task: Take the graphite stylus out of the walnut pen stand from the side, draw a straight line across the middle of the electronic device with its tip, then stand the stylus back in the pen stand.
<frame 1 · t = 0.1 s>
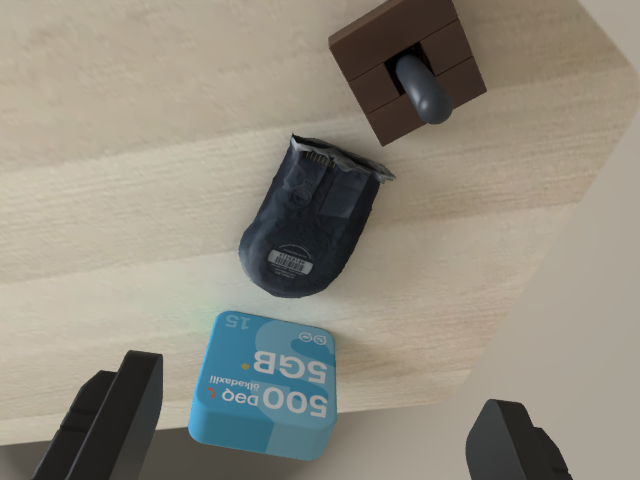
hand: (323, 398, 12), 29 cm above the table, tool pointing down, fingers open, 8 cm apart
data package: (273, 333, 49), on the table
pen stand: (402, 58, 35), on the table
stylus: (417, 80, 29), in the pen stand
electronic device: (306, 218, 42), on the table
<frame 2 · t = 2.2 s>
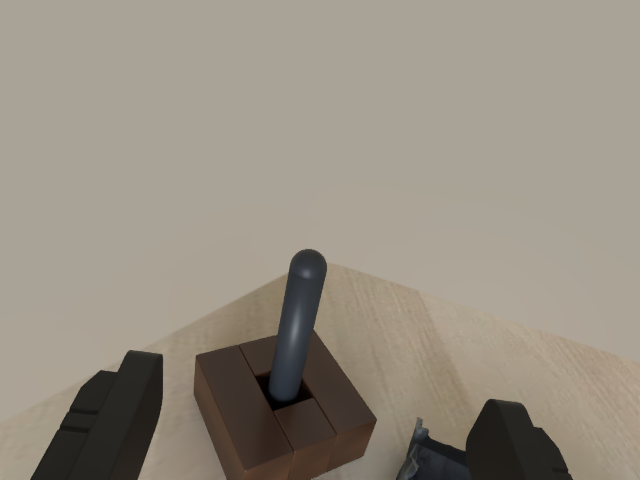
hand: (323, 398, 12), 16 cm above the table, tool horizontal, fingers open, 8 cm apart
pen stand: (276, 424, 30), on the table
stylus: (291, 349, 26), in the pen stand
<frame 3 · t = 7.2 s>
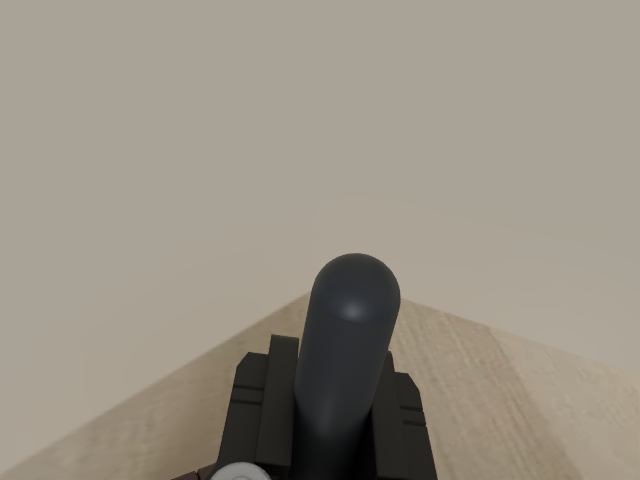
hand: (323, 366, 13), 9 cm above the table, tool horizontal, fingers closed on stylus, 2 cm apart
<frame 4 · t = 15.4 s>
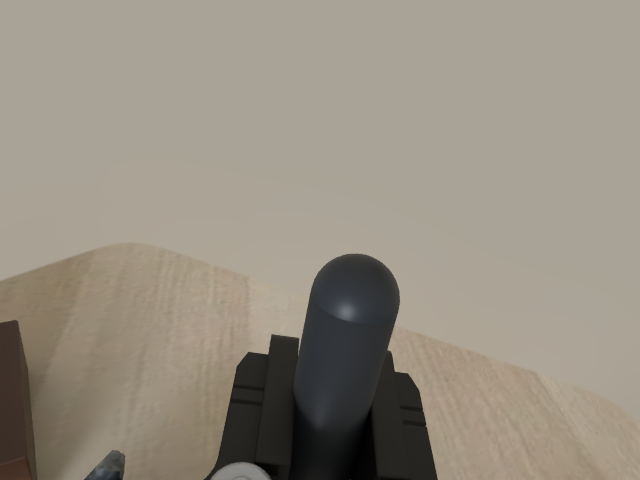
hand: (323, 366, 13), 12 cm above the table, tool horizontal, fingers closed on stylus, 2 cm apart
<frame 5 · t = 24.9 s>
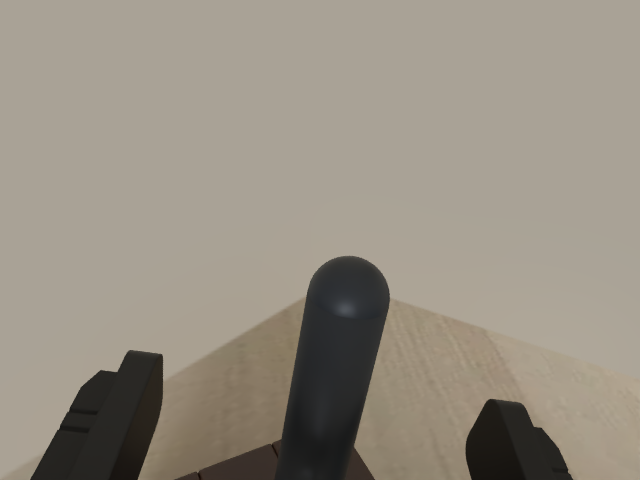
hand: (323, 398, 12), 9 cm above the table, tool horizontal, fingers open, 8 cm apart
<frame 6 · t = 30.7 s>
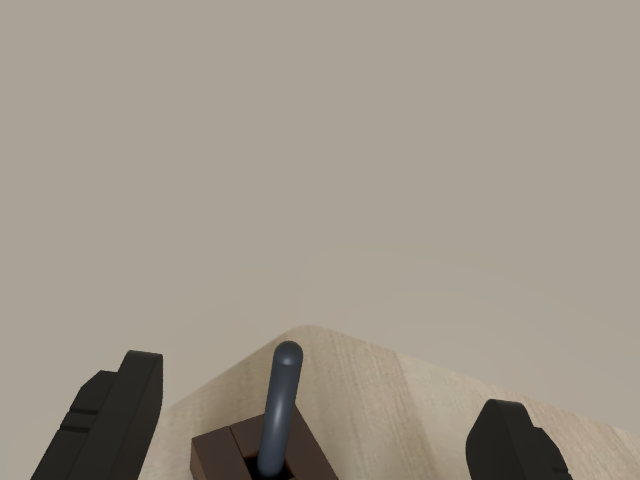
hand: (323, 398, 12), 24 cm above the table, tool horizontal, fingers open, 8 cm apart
stylus: (276, 426, 31), in the pen stand, tilted 10°
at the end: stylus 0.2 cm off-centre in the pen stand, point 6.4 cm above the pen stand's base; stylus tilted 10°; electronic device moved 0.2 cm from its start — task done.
